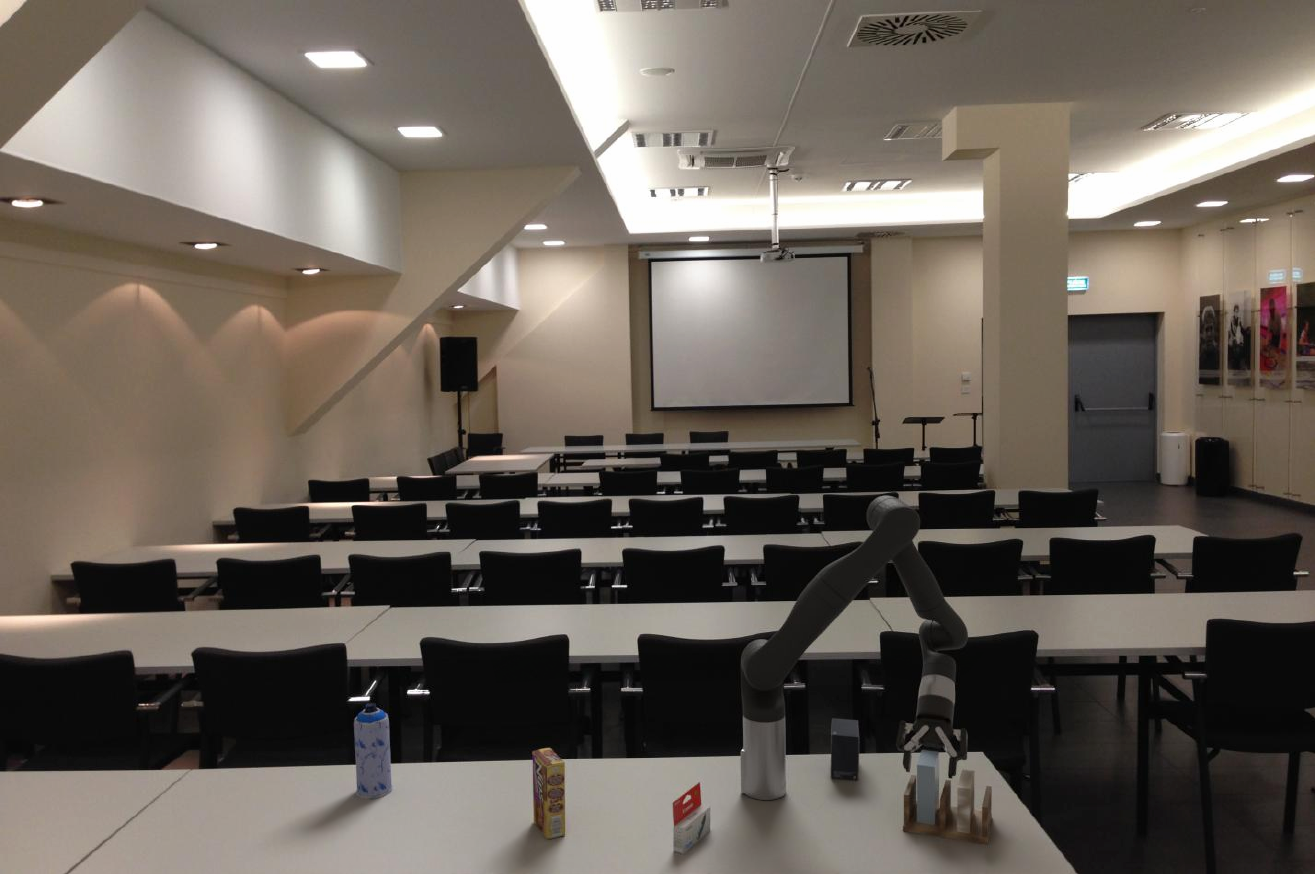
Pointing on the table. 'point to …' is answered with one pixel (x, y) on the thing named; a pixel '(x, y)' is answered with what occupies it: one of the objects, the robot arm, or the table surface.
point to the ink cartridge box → (689, 820)
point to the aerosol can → (372, 753)
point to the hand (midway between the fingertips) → (928, 774)
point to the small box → (844, 749)
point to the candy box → (549, 792)
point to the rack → (952, 812)
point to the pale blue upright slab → (928, 787)
